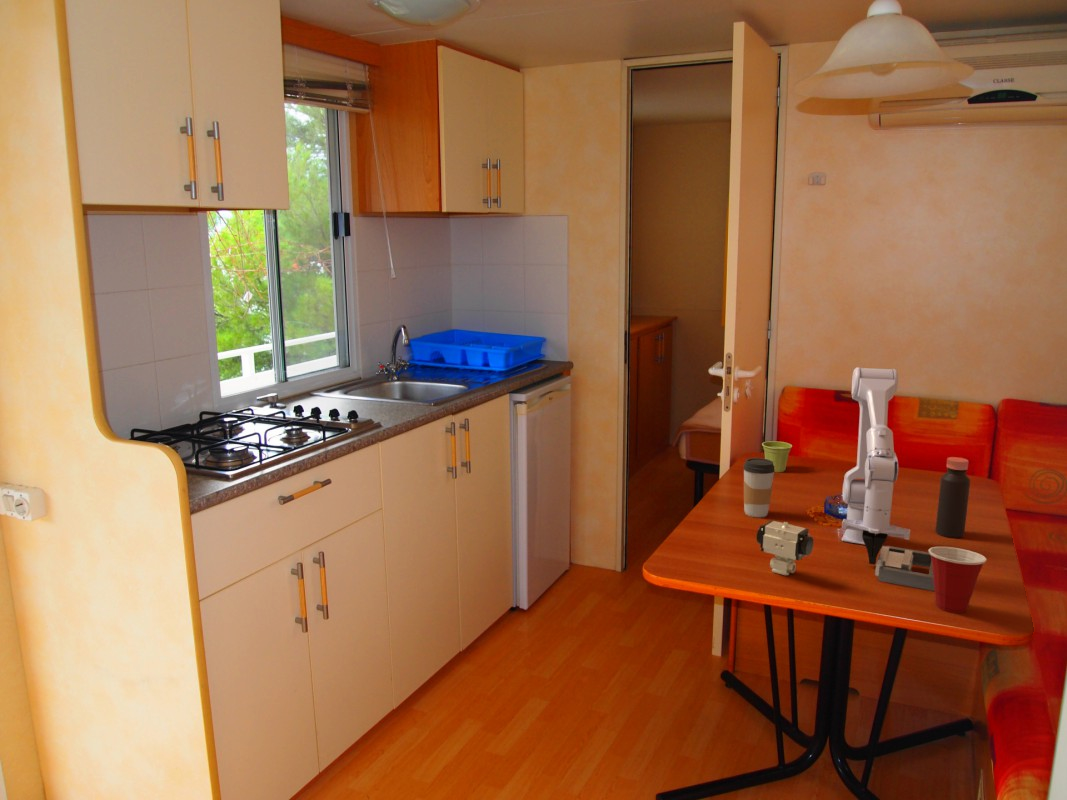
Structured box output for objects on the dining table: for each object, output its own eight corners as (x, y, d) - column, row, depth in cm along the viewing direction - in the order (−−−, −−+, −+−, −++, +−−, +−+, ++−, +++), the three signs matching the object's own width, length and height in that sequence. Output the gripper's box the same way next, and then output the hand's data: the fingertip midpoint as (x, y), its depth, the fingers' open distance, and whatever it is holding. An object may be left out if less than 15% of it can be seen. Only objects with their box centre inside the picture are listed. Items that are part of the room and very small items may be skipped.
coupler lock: (880, 561, 202) (881, 545, 202) (912, 567, 199) (913, 551, 198) (875, 576, 194) (876, 559, 193) (908, 582, 190) (910, 565, 190)
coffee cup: (775, 519, 231) (779, 465, 228) (744, 518, 231) (748, 465, 228) (766, 509, 239) (770, 457, 236) (737, 509, 239) (740, 457, 236)
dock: (885, 557, 204) (886, 545, 204) (938, 566, 199) (939, 554, 199) (878, 580, 190) (879, 568, 190) (934, 591, 185) (935, 578, 185)
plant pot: (769, 475, 273) (771, 448, 272) (755, 467, 282) (756, 441, 281) (795, 473, 276) (797, 447, 274) (780, 465, 285) (782, 440, 283)
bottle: (954, 540, 216) (963, 464, 213) (929, 532, 222) (937, 458, 218) (969, 535, 220) (978, 460, 216) (944, 527, 226) (952, 454, 222)
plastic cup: (980, 602, 180) (986, 548, 177) (980, 622, 170) (987, 566, 168) (924, 592, 185) (929, 539, 182) (921, 611, 175) (927, 556, 173)
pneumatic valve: (762, 563, 200) (765, 514, 198) (811, 576, 193) (815, 525, 190) (752, 569, 196) (755, 520, 193) (801, 583, 189) (805, 532, 186)
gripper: (841, 506, 195) (837, 562, 198) (910, 517, 189) (904, 574, 191) (846, 498, 201) (841, 552, 204) (913, 508, 195) (907, 564, 197)
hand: (872, 562), depth 198 cm, fingers closed
